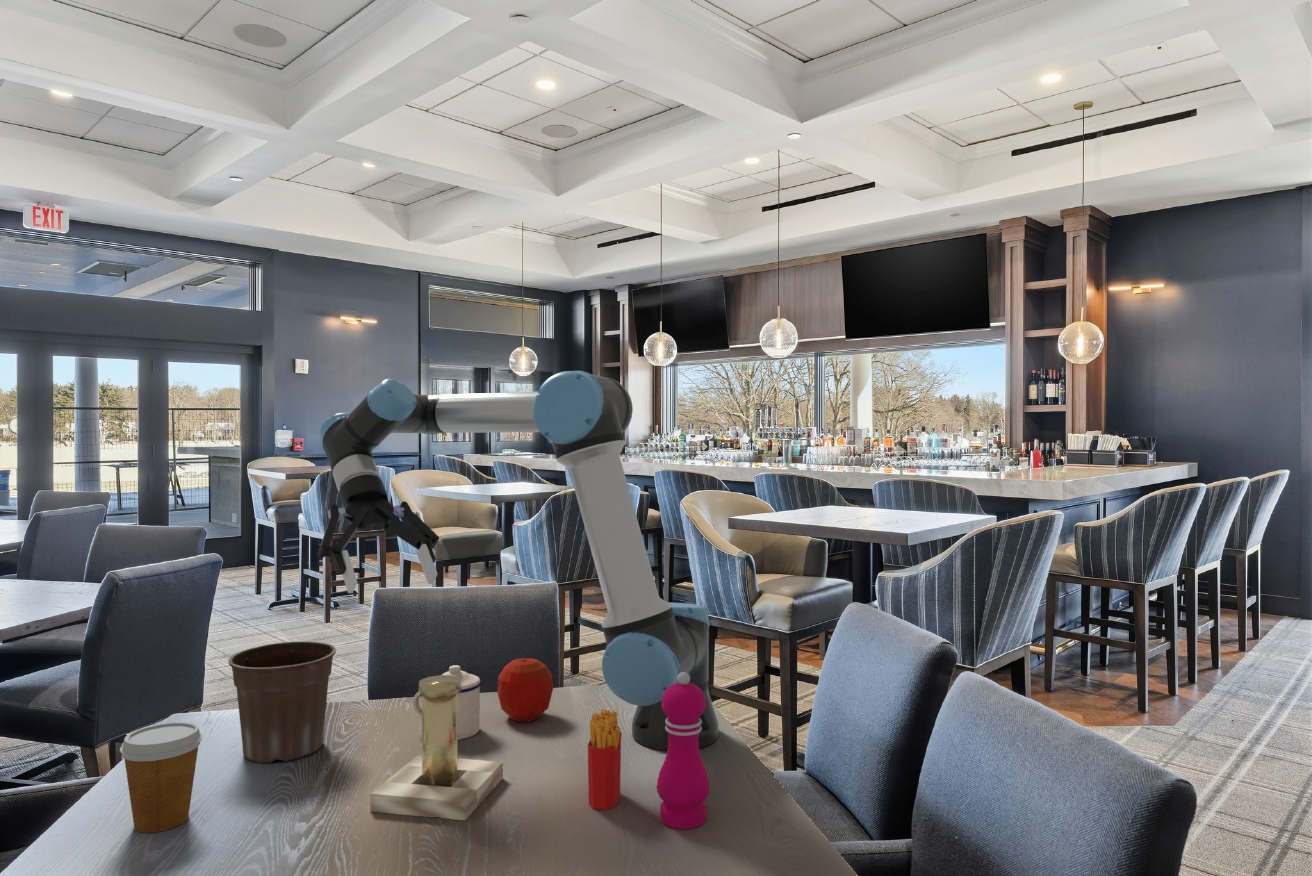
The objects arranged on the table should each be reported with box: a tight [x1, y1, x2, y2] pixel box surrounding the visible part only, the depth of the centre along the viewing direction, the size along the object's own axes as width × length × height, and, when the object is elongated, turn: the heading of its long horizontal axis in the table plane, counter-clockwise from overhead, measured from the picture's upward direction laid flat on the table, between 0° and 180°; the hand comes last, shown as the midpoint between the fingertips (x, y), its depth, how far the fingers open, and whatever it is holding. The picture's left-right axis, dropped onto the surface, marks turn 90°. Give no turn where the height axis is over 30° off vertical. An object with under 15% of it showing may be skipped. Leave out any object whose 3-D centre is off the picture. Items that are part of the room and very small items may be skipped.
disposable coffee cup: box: [119, 721, 203, 834], centre depth 110 cm, size 10×10×12 cm
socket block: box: [369, 755, 504, 821], centre depth 119 cm, size 14×14×2 cm
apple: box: [496, 655, 554, 723], centre depth 152 cm, size 10×10×12 cm
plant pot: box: [227, 641, 337, 764], centre depth 135 cm, size 16×16×16 cm
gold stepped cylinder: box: [418, 674, 461, 787], centre depth 119 cm, size 6×6×16 cm
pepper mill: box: [656, 672, 711, 830], centre depth 111 cm, size 7×7×20 cm
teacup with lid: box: [412, 664, 482, 740], centre depth 144 cm, size 12×9×12 cm
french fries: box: [587, 709, 622, 811], centre depth 117 cm, size 8×4×12 cm, turn 170°
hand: (394, 583), depth 133 cm, fingers open, 13 cm apart
